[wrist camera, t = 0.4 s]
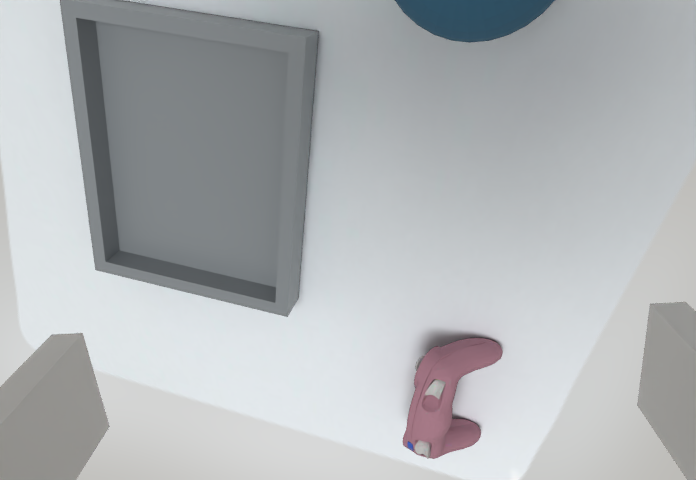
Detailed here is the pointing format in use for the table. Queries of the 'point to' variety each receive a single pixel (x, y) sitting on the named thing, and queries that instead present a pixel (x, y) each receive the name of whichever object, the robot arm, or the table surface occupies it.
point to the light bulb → (473, 17)
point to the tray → (193, 147)
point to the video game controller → (445, 397)
